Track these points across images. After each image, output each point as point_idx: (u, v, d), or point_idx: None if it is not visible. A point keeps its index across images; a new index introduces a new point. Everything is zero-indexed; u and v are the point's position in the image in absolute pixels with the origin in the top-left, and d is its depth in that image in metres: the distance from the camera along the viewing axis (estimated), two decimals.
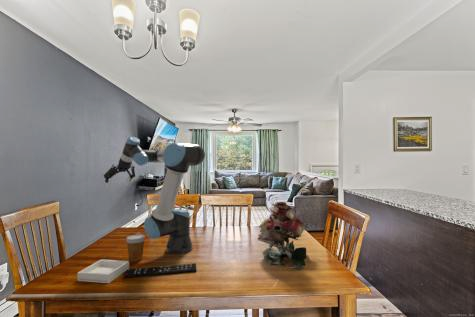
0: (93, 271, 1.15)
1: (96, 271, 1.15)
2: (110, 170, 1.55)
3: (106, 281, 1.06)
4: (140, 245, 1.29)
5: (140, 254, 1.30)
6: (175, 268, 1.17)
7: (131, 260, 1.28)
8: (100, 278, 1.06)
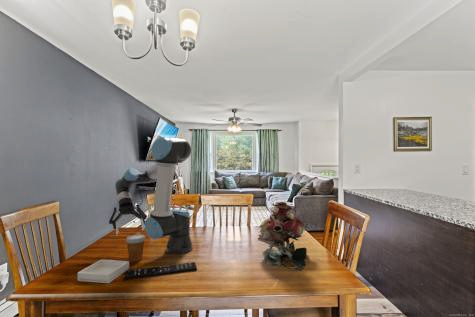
0: (93, 271, 1.15)
1: (96, 271, 1.15)
2: None
3: (106, 281, 1.06)
4: (140, 245, 1.29)
5: (140, 254, 1.30)
6: (175, 267, 1.18)
7: (131, 260, 1.28)
8: (100, 278, 1.06)
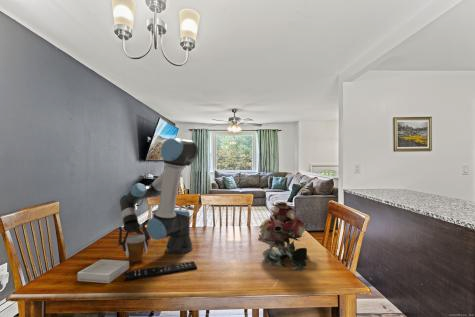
0: (93, 271, 1.15)
1: (96, 271, 1.15)
2: (119, 234, 1.32)
3: (106, 281, 1.06)
4: (140, 245, 1.29)
5: (140, 254, 1.30)
6: (175, 267, 1.19)
7: (131, 260, 1.28)
8: (100, 278, 1.06)
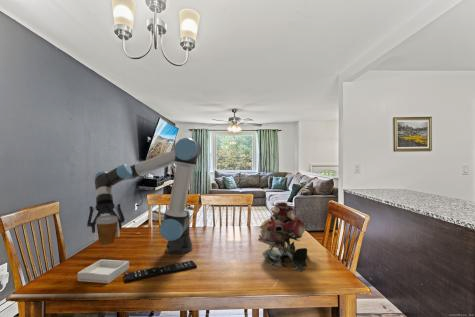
0: (93, 271, 1.15)
1: (96, 271, 1.15)
2: (89, 214, 1.18)
3: (106, 281, 1.06)
4: (111, 227, 1.15)
5: (111, 237, 1.16)
6: (175, 266, 1.19)
7: (101, 243, 1.14)
8: (100, 278, 1.06)
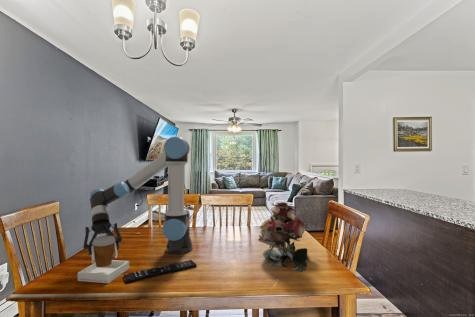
0: (93, 271, 1.15)
1: (96, 271, 1.15)
2: None
3: (106, 281, 1.06)
4: (108, 248, 1.12)
5: (109, 258, 1.13)
6: (175, 266, 1.20)
7: (98, 265, 1.11)
8: (100, 278, 1.06)
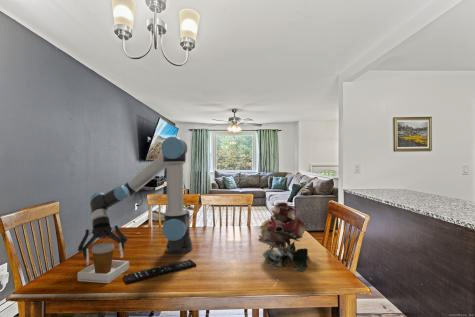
0: (93, 271, 1.15)
1: None
2: None
3: (106, 281, 1.06)
4: (107, 255, 1.12)
5: (108, 266, 1.13)
6: (174, 266, 1.20)
7: None
8: (100, 278, 1.06)
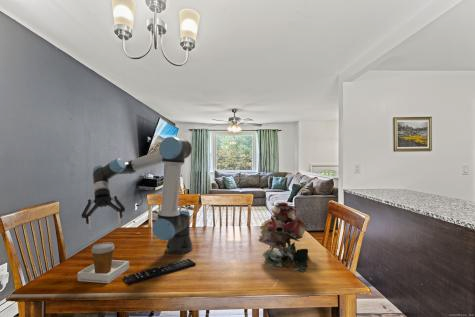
0: (93, 271, 1.15)
1: None
2: None
3: (106, 281, 1.06)
4: (107, 255, 1.12)
5: (108, 266, 1.13)
6: (174, 266, 1.20)
7: None
8: (100, 278, 1.06)
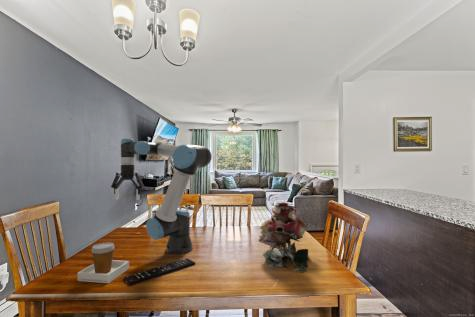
0: (93, 271, 1.15)
1: None
2: None
3: (106, 281, 1.06)
4: (107, 255, 1.12)
5: (108, 266, 1.13)
6: (174, 265, 1.21)
7: None
8: (100, 278, 1.06)
